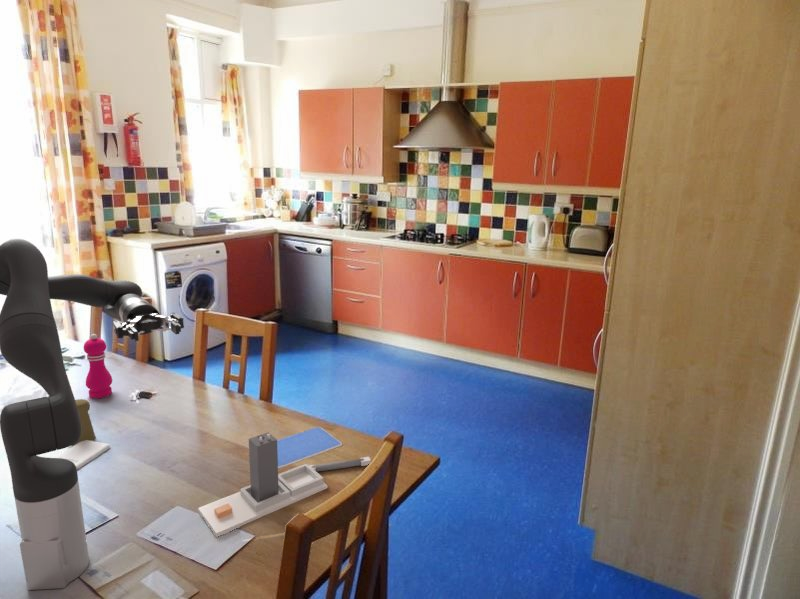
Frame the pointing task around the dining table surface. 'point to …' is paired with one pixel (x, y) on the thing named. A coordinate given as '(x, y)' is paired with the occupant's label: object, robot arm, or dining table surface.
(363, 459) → the grey bar
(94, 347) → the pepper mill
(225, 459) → the dining table surface
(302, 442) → the tablet computer
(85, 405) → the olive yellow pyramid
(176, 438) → the dining table surface
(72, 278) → the robot arm
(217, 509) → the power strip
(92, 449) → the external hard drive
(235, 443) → the dining table surface
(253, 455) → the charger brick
